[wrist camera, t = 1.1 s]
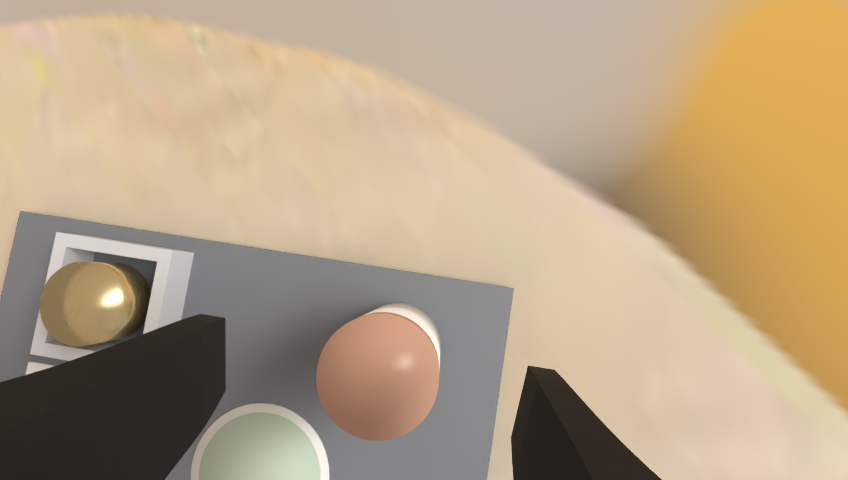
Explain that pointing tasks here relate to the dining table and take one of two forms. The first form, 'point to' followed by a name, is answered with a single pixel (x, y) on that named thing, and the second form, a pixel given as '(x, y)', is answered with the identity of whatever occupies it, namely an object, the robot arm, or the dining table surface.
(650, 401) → the dining table surface
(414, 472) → the board
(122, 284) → the button
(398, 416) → the white cylinder
